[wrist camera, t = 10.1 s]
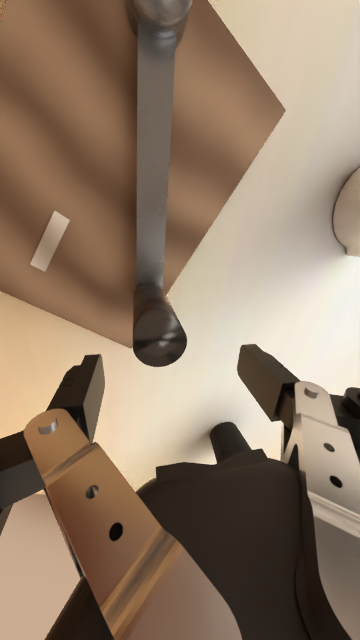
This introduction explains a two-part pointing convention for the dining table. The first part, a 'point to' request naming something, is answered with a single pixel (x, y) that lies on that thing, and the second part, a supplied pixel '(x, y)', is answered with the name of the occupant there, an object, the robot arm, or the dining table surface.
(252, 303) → the dining table surface
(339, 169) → the dining table surface
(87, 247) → the board
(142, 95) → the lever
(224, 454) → the drinking cup
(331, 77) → the dining table surface
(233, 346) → the dining table surface
